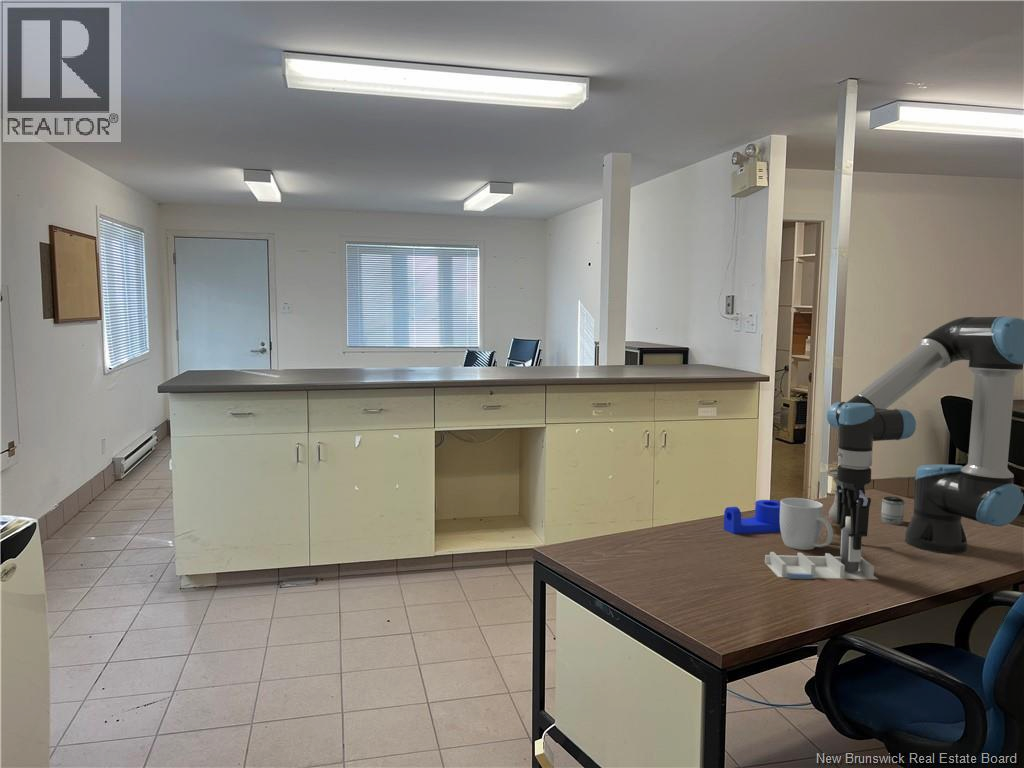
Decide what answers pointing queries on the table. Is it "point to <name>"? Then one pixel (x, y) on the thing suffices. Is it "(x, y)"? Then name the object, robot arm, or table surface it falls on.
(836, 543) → the candle holder
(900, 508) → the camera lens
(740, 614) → the table surface
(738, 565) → the table surface
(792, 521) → the mug
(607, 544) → the table surface
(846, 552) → the two-tone capped cylinder
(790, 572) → the white compartment tray
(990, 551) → the table surface
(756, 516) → the bracket
